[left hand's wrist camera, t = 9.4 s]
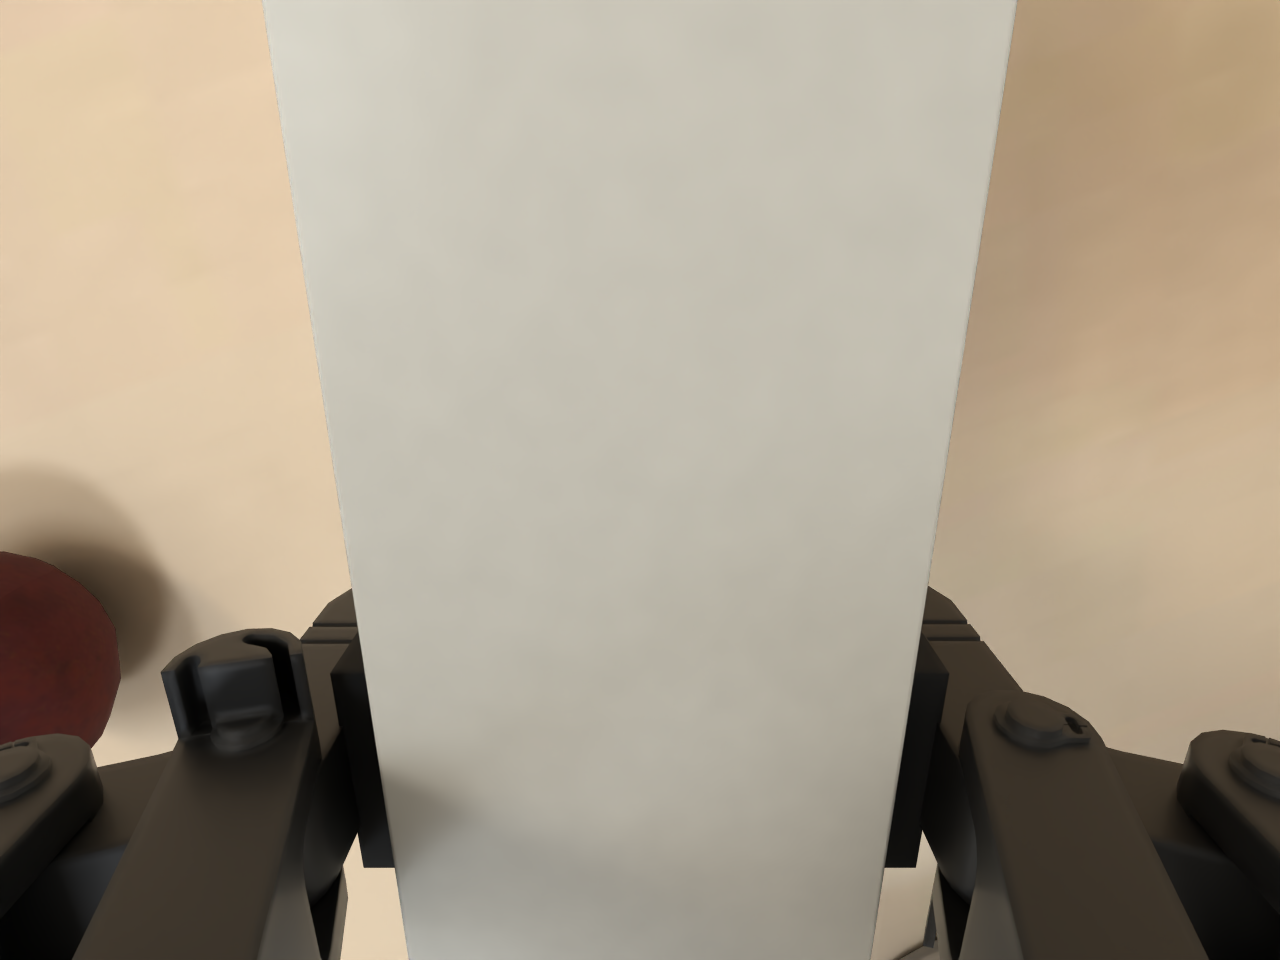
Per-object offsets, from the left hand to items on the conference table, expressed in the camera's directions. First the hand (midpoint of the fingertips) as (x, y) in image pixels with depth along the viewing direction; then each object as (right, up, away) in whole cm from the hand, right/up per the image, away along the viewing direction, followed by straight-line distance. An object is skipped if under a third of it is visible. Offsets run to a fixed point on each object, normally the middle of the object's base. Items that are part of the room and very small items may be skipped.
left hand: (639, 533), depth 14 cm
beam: (0, +29, -10) cm, 30 cm away
